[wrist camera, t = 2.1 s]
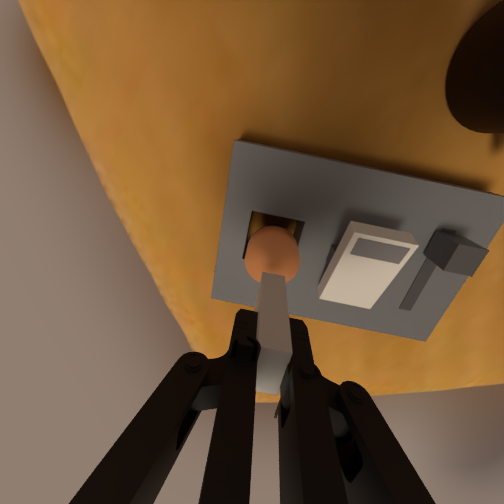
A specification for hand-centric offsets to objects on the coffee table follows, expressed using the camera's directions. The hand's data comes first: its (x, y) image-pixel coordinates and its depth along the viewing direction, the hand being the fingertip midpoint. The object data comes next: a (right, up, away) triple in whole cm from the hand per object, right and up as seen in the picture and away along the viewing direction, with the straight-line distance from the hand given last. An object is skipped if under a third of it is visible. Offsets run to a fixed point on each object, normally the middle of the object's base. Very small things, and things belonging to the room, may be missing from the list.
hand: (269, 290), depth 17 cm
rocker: (+8, +1, +5) cm, 10 cm away
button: (+1, +4, +8) cm, 9 cm away
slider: (+16, +3, +6) cm, 17 cm away
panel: (+8, +4, +11) cm, 14 cm away
